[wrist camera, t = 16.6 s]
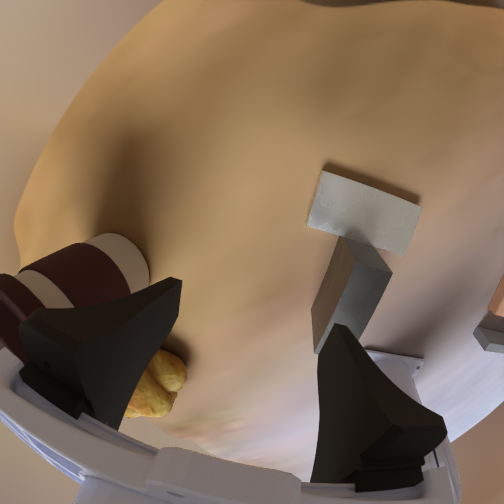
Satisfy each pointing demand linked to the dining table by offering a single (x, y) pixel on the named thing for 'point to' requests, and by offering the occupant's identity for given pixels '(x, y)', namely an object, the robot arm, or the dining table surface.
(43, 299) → the coffee cup
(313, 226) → the turner
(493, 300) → the tile
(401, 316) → the dining table surface
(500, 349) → the frame
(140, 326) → the robot arm
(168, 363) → the bread roll
